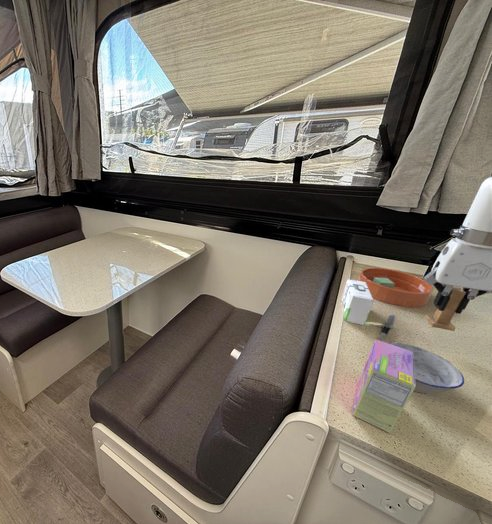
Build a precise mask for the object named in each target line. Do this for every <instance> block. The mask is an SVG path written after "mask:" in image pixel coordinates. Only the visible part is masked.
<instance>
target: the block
mask: <svg viewBox="0 0 492 524" xmlns="http://www.w3.org/2000/svg"><path fill="white" fill-rule="evenodd" d="M373 282H374V283H377V284H379V285H382V286H385V287H388V288H391V289H393V287H394V285H395V283H393V282H392V281H391V280H389V279H388V278H377V277H374V280H373Z"/></svg>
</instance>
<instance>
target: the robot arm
mask: <svg viewBox="0 0 492 524" xmlns="http://www.w3.org/2000/svg"><path fill="white" fill-rule="evenodd" d="M449 235H450V236H454V237H455V238H454V237H453V238H451V239H450V240H449V241H448V242H447V244H446V245H445V247H444V248H443V249H442V250H441V252H440V253H439V255H438V256H437V258H436V260H435V262H434V263H433V265H432V268H431V270H430V272H428V273H427V274H426V275H425V276H423V277H422V279H423V280H424V281H425V282H426V283H428V284H430V285H432V286H433V288H435V289H436V290H437V293H436V295H435V297H434V300H433V305H434V307H436V310H437V309H438V310H439V311H444V310H445V308H446V306H447V304H448V302H449V300H450V297H449V296H448V295H449V293H450V291H451V290H452V288H453V287H456V288H461V289H462V290H464V291H465V292H466V293H465V295H464V297H463V299H462V300H461V302H460V304H459V306H458V308H457V310H456V312H455V314H457V315H461V314H462V312H463V311H465V309H466V308H467V306H468V305H469V302H470V301H473V300H475V299H476V298H477V297H480V296H483V295H486V294H492V176H490V177H487V178H486V179H485V180H483V182H482V183H481V184H480V186H479V189H478V191H477V193H476V195H475V196H474V199H473V200H472V203H471V206H470V208H469V210H468V212H467V214H466V216H465V218H464V220H463V223H462V225H459V228H452V229H451V230H450V231H449Z"/></svg>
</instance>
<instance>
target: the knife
mask: <svg viewBox="0 0 492 524" xmlns="http://www.w3.org/2000/svg"><path fill="white" fill-rule="evenodd" d="M394 321H395V314H390V315H389V316H388V317H387V320H386V322H384V325H383V324H377V325H376V328H379V327H380V328H382V329H381V331H380V335H377V338H379V339H381V340H385V339H386V338H387V336H388V334H389V332H390V331H392V326H393V323H394Z"/></svg>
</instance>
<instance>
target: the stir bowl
mask: <svg viewBox="0 0 492 524" xmlns="http://www.w3.org/2000/svg"><path fill="white" fill-rule="evenodd" d="M374 277H377V278H388V279H389V280H391V281H392V282H393V283H395V285H394V287H393V289H391V288H388V287H385V286H382V285H379V284H377V283H374V282H373V280H374ZM357 281H362V282H366V284H367V286H368V289H369V291H370V293H371V295H372V298H373V300H374V299H375V300H377V301H380V302H383V303H386V304H389V305H394V306H399V307H403V308H404V307H406V308H421V307H425V306H426V305H427V304H428V303H429V300H430V298H431V296H432V294H433V292H434V286H432V285H430V284H428V283H426V282H425V281H424V280H423V278H420V277H418V276H416V275H413V274H410V273H407V272H404V271H401V270H396V269H390V268H383V267H367V268H363V269H362V270H361V271H360V273H359V275H358V278H357Z"/></svg>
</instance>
